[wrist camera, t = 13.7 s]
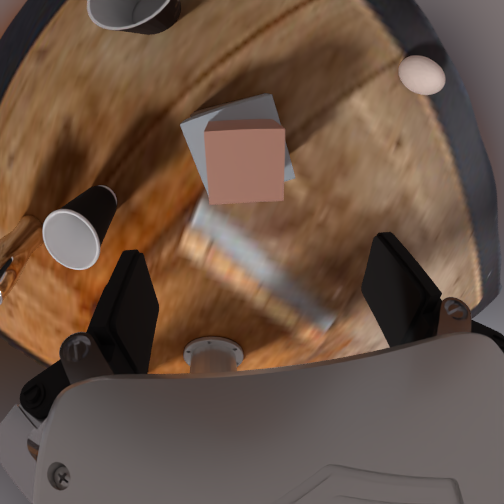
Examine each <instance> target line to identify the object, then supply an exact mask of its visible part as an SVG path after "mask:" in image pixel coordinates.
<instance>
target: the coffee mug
mask: <svg viewBox="0 0 504 504" xmlns="http://www.w3.org/2000/svg"><path fill="white" fill-rule="evenodd" d="M87 11H88V14H89V17H90V18H91V20H92V21H93V22H94V23H95V24H96V25H98V26H100V27H102V28H104V29H108V30H116V31H125V32H133V33H140V34H148V35H150V34H157V33H160V32H163V31H165V30H167V29H168V28H170V27H171V26H172V25H173V24H174V23H175V22H176V20H177V19H178V17H179V15H180V11H181V5H180V0H87Z"/></svg>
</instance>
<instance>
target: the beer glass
mask: <svg viewBox="0 0 504 504" xmlns="http://www.w3.org/2000/svg"><path fill="white" fill-rule="evenodd" d="M43 243H44V239H43V226H42V224H41V223H40V221H39V220H38V219H37V218H35V217H34V216H31V215H26V216H24V217H22V218H21V220H20V221H19V223H18V224H17V226H16V227H15V228H14V229H13V230H12V231H11V232H10V233H9V234H7V235H6V236H4V237H3V238H1V239H0V305H1V304H2V302H3V300H4V299H5V298H6V297H7V295H8V294H9V293H10V292H11V290H12V289H13V287H14V286H15V284H16V283H17V281H18V280H19V278H20V276H21V274H22V272H23V270H24V268H25V266H26V264H27V261H28V259H29V257H30V256H31V254H32V253H33V252H34V251H35V250H36V249H37V248H38V247H40V246H41V245H42V244H43Z"/></svg>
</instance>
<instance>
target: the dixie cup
mask: <svg viewBox="0 0 504 504" xmlns="http://www.w3.org/2000/svg"><path fill="white" fill-rule="evenodd" d="M116 207H117V198H116V195H115V193H114V192H113V191H112V190H111V189H110V188H109V187H107V186H104V185H98V186H94V187H91V188H89V189H88V190H86V191H85V192H83V193H82V194H80V195H79V196H78V197H76V198H75V199H73V200H72V201H70V202H69V203H68V204H66V205H65V206H63V207H62V208H61V209H59V210H56V211H53V212H52V213H50V214H49V215H48V216H47V218H46V219H45V222H44V224H43V239H44V243H45V245H46V247H47V249H48V251H49V252H50V254H51V255H52V256H53V257H54V258H55V259H56V260H57V261H58V262H59V263H61V264H62V265H64V266H66V267H68V268H71V269H76V270H83V269H87V268H89V267H91V266H92V265H93V264H94V263H95V262H96V261H97V259H98V257H99V253H100V246H101V244H102V242H103V239H104V237H105V234H106V232H107V230H108V228H109V225H110V223H111V221H112V219H113V216H114V214H115V212H116Z"/></svg>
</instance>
